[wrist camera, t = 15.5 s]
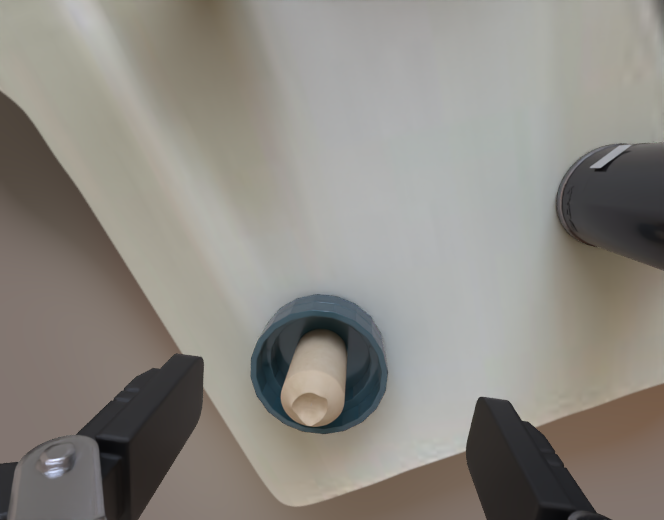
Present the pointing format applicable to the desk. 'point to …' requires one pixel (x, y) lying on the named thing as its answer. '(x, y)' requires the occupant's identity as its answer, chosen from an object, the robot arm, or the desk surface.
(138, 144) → the desk surface
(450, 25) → the desk surface
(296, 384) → the candle
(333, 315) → the bowl
